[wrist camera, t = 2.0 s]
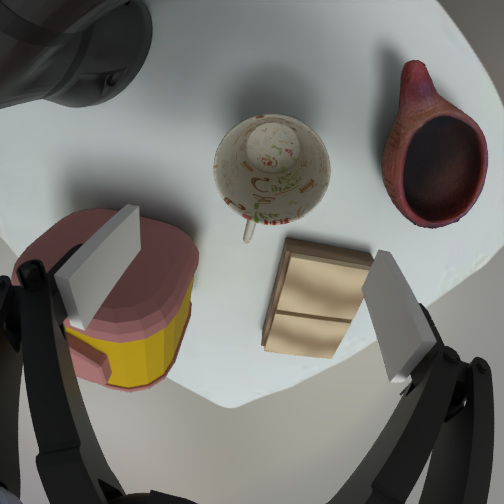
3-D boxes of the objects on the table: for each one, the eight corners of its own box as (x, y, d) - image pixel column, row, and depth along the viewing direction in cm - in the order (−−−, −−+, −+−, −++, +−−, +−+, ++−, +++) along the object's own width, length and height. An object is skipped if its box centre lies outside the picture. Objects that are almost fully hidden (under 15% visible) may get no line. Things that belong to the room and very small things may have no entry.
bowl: (475, 153, 24) (515, 173, 18) (419, 227, 31) (448, 262, 24) (387, 58, 21) (422, 49, 14) (321, 147, 27) (337, 165, 20)
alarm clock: (86, 262, 38) (15, 354, 21) (81, 196, 32) (-20, 281, 16) (199, 295, 39) (158, 420, 22) (211, 227, 33) (154, 361, 17)
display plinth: (285, 237, 33) (286, 255, 30) (370, 253, 33) (379, 272, 30) (262, 330, 41) (260, 350, 38) (331, 339, 41) (334, 359, 38)
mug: (323, 121, 26) (346, 134, 17) (289, 227, 32) (293, 279, 24) (243, 100, 25) (226, 101, 17) (218, 209, 32) (196, 256, 23)
